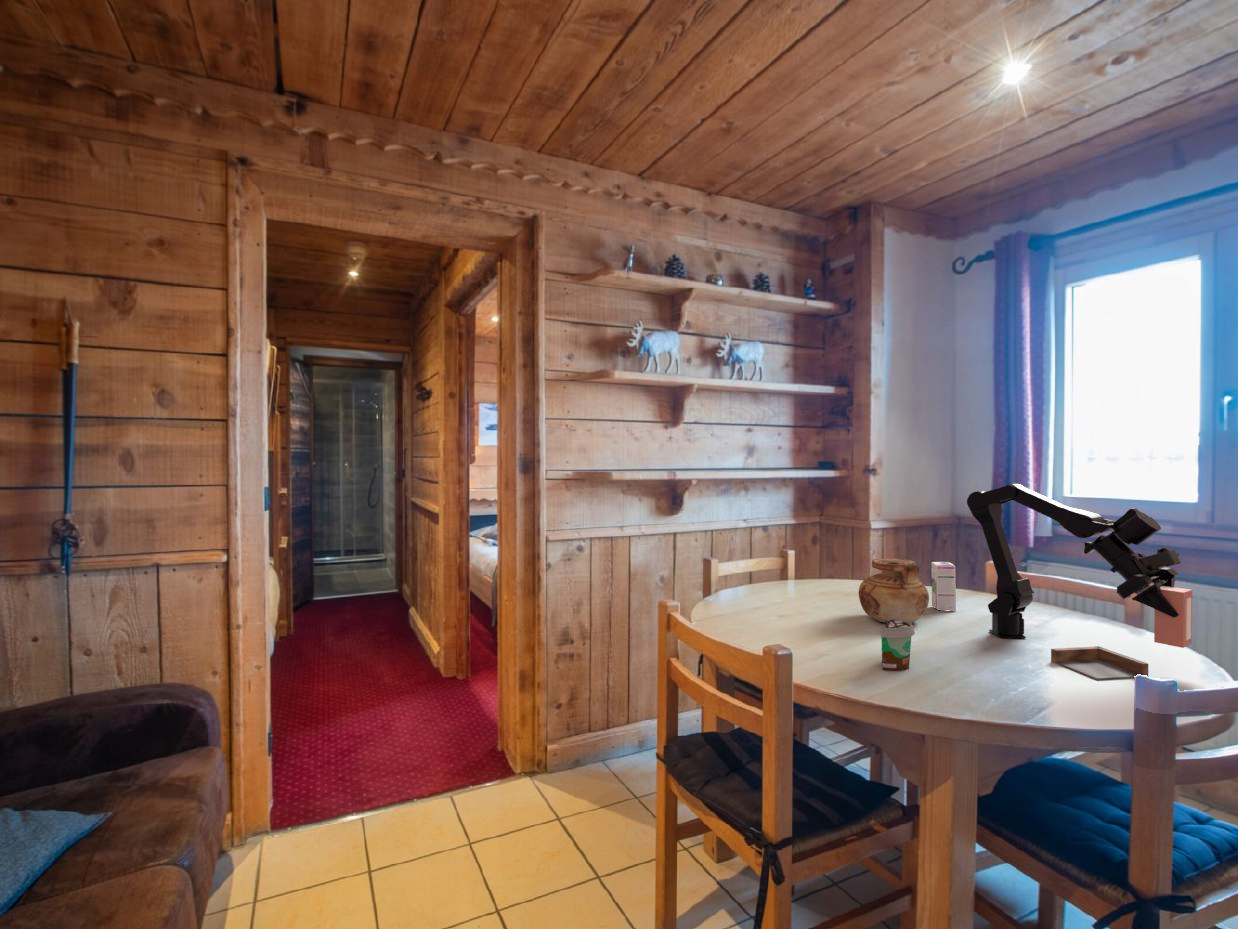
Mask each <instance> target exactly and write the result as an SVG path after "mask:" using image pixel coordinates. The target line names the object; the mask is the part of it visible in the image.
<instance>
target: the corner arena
mask: <svg viewBox="0 0 1238 929" xmlns="http://www.w3.org/2000/svg"><path fill="white" fill-rule="evenodd" d="M1050 662H1051V663H1053V664H1056V665H1059V666H1061V667H1064V668H1066V669H1068V670H1071V671H1074V672H1075V673H1079V674H1080V675H1083V676H1085V677H1087V678H1091V679H1092V680H1096V681H1106V680H1107V681H1108V680H1124V679H1125V680H1126V679H1135V678H1134V676H1136V675H1137V674H1141V675H1147V676H1148V677H1149V663H1148V662H1145V661H1142V660H1140V659H1136V658H1135V657H1132V656H1131V657H1130V656H1127V655H1124V654H1122V653H1118V652H1115V651H1114V650H1110V649H1108V648H1104V647H1102V646H1098V645H1097V646H1082V647H1081V646H1080V647H1079V646H1078V647H1061V648H1060V647H1059V648H1051V649H1050Z"/></svg>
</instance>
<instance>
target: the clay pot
mask: <svg viewBox="0 0 1238 929" xmlns="http://www.w3.org/2000/svg"><path fill="white" fill-rule="evenodd" d="M871 567H872V568H873V569H876V570H879V571H882V572H881V573H875V574H873V575H869V576H868V577H866V578H864V580H862V582H861V583H860V585H859V587H858V599H859V602H860V605H861V607H862V610H863V611H864V613H865V614H866V615H867V616H868V617H869V618H871V619H873V620H875V621H877V620H878V621H877V622H880V621H881V622H880V623H884V622H886V624H887V623H889V621H890V616H891V617H898V618H902V619H905V620H908V621H910V622H911V623H912V624H913V623H914V622H916V621H918V620H919V619H921V618H922V617H923V616H924V615H925V612H926V610H927V609H928V606H929V602H930V593H929V592H928V589H927V586H926V585H925V584H924V583H923V582H922V581H921V580H920V579H919V574H920V567H919V565H918V564H917V563H916V561H914V560H912V559H911V560H910V559H906V558H905V559H904V558H888V557H887V558H884V557H883V558H875V559H872V560H871Z"/></svg>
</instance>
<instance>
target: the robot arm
mask: <svg viewBox="0 0 1238 929" xmlns="http://www.w3.org/2000/svg"><path fill="white" fill-rule="evenodd" d="M1012 501H1013V502H1015V503H1018V504H1020V505H1022V506H1024V507H1026V508H1029V509H1030V510H1033V511H1035V512H1037V513H1039V514H1041V515H1043V516H1046V517H1047V518H1049V519H1052V520H1054V521H1055V522H1057V523H1058V524H1059V525H1060V526H1061V527H1062V528H1063V529H1064V530H1066V531H1067V532H1068V533H1071V535H1073V536H1075V537H1076V538H1080V539H1088V538H1093V537H1097V538H1095V539H1094V540H1092V542H1091V541H1086V542H1084V544H1083V545H1084V550H1083V553H1084V554H1086V555H1087V554H1092V553H1094V552H1096V553H1097V554H1098V555H1099V556H1100V557H1101V558H1102V559H1103V560H1104V561H1105V562H1106V563H1107V564H1108V565H1109V566H1110V567H1111V568H1110V569H1109V570H1110V571H1111V572H1112V573H1113V574H1114V573H1115V574H1116V573H1117V574H1118V575H1120V576H1121V577H1122V578H1123V580H1124V582H1123V583H1121V584H1119V585H1118V586H1116V593H1117V594H1118V596H1119V597H1121V599H1122V600H1127V599H1129V598H1131V597H1132V595H1133V594H1135V596H1134V597H1132V598H1131V600H1133V601H1136V602H1139V603H1140V604H1143V605H1145V606H1148V607H1150V608H1152V609H1154V610H1155V609H1156V610H1158V611H1160V612H1163V613H1165V614H1167V615H1169V616H1171V617H1174V618H1175V617H1177V616H1178V615H1179V614H1178V613H1177V612H1176V610H1175V609H1174V608H1173V607H1172V605H1171V604H1170V603H1169V602H1168V601H1167V599H1166V598H1165V597H1164V596H1163V595H1162V593H1161V589H1160V587H1161V586H1169V587H1175V583H1176V578H1177V577H1178V576H1180V574H1179V573H1178V572H1177V571H1176V570H1175V569H1174V568H1173V567H1171V566H1176V565H1179V564H1182V563H1181V562H1182V561H1181V560H1180V559H1179V556H1180V553H1179V552H1176V550H1175V549H1171V547H1169V546H1166V547H1162V548H1158V549H1157V552H1156V553H1155V554H1152V555H1148V556H1146V555H1145V554H1144V553H1142V552H1135V551H1134V549H1132V548H1131V547H1130V546H1129V545H1134V546H1135V545H1136V546H1140V545H1141V544H1143V543H1144V542H1146V540H1148V539H1150V537H1152V536H1154V535H1155V534H1156V533H1157V532H1159V531H1161V530H1162V527H1161V525H1160V524H1159V523H1158V521H1156V520H1155V519H1154V518H1153V517H1151V516H1149V515H1148V514H1146V513H1144V512H1142V511H1140V510H1138V508H1136V507H1132V508H1130V509H1128V510H1127V511H1126V512H1125V514H1123V515H1122V516H1121V517H1119V518H1117V520H1110V519H1105V518H1104V517H1103V516H1102V515H1100V514H1098V513H1095V512H1091V511H1088V510H1085V509H1079V508H1076V507H1071V506H1067V505H1065V504H1063V503H1060V502H1058V501H1057V500H1053V499H1051V498H1049V497H1047V496H1045V495H1043V494H1041V493H1038V492H1036V491H1034V490H1031V489H1029V488H1027V487H1025V486H1023V485H1022V484H1019V483H1010V484H1009V483H1008V484H1006V485H1004V486H1002V487H998V488H995V489H990V490H980V491H973V492H971V493H970V494H969V495H968V497H967V498H966V506H967V508H968V510H969V511H970V513H971V514H972V517H973V518H974V519H975V520H976V521H977V522H978V524H980V527H981V530H982V532H983V534H984V539H985V540H986V544H987V547H988V551H989V554H990V557H991V560H992V564H993V566H994V569H995V573H996V574H997V575H996V577H997V579H996V586H995V591H996V598H995V599H993V600H992V601H991V602H989V603H988V604H987V609H988V610H989V613H991V622H992V623H991V629H988V632H989V633H991V634H993V635H994V636H997V637H998V638H1001V639H1026V635H1024V634H1025V619H1024V618H1023V613H1024V612H1025V610H1026V609H1027V607H1028V606H1030V605H1031V603H1032V602H1033V601H1034V596H1033V594H1035V591H1034V590H1033V589H1032V587H1031V586H1032V585H1031V581H1030V578H1028V577H1026V578H1023V577H1022V576H1021V575H1020V574H1019V573H1018V570H1017V567H1016V564H1015V561H1014V558H1013V555H1012V553H1011V552H1012V551H1011V549H1010V545H1009V543H1008V540H1007V537H1006V534H1005V531H1004V527H1003V525H1002V522H1001V519H1002V513H1003V508H1002V505H1004V504H1007V503H1009V502H1012ZM1105 532H1106V533H1107V532H1111V533H1109V534H1108V535H1103V534H1104V533H1105Z"/></svg>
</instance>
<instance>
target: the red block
mask: <svg viewBox="0 0 1238 929" xmlns="http://www.w3.org/2000/svg"><path fill="white" fill-rule="evenodd" d="M1160 589H1161V593H1162V595H1163V596H1164V597H1165V598H1166V599H1167V601H1168V602H1169V603H1170V604H1171V605H1172V607H1173V608H1174V609H1175V610H1176V612H1177V613H1178V614H1179V615H1178V616H1177V617H1175V618H1174V617H1171V616H1169V615H1167V614H1165V613H1163V612H1160V611H1158V610H1156V609H1154V628H1153V629H1154V637H1153V639H1154V643H1157V644H1161V645H1167V646H1171V647H1175V648H1176V647H1177V648H1182V649H1184V648H1187V647H1188V646H1191V645H1192V644H1193V639H1192V638H1193V589H1191V588H1190V589H1189V588H1183V587H1177V586H1174V587H1169V586H1161V587H1160Z"/></svg>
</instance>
